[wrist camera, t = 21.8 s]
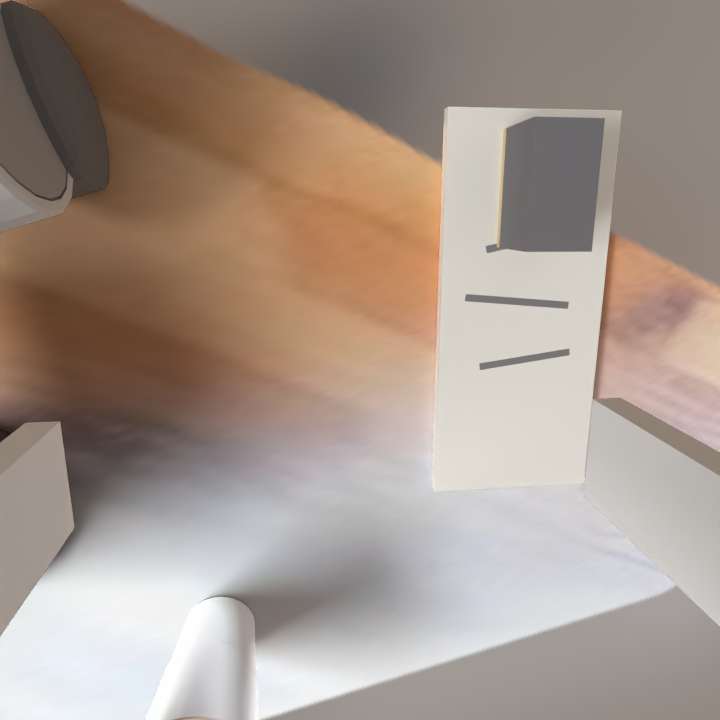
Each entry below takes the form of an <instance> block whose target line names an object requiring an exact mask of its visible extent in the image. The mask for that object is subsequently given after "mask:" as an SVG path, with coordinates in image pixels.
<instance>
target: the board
mask: <svg viewBox="0 0 720 720" xmlns="http://www.w3.org/2000/svg"><path fill="white" fill-rule="evenodd" d="M532 117H579V118H605V122H604V132H603V143H602V153H601V163H600V173H599V183H598V193H597V203H596V214H595V224H594V234H593V244H592V252H523V251H517V250H510V249H504V248H498V247H497V233H498V216H499V200H500V183H501V166H502V149H503V132H504V129H505V128H508V127H510V126H513V125H515V124H517V123H520V122H522V121H525V120H527V119H530V118H532ZM621 118H622V110H585V109H581V110H580V109H535V108H490V107H489V108H488V107H487V108H486V107H447V108H445V109H444V131H443V159H442V189H441V218H440V248H439V278H438V307H437V337H436V367H435V396H434V426H433V456H432V485H431V486H432V488H433V490H434V491H435V492H437V491H456V490H476V489H495V488H515V487H534V486H553V485H573V484H584V476H585V466H586V456H587V447H588V437H589V427H590V418H591V408H592V398H593V389H594V379H595V369H596V360H597V350H598V340H599V331H600V321H601V311H602V302H603V292H604V282H605V273H606V263H607V253H608V244H609V234H610V223H611V214H612V205H613V195H614V185H615V176H616V166H617V156H618V147H619V137H620V127H621Z"/></svg>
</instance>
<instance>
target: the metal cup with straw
mask: <svg viewBox="0 0 720 720" xmlns="http://www.w3.org/2000/svg"><path fill="white" fill-rule="evenodd" d="M145 720H259V700H258V678H257V671H256V651H255V620H254V617H253V614H252V612H251V611H250V609H249V608H248V607H247V606H246V605H245V604H243V603H242V602H240V601H238V600H236V599H234V598H230V597H212V598H209V599H206V600H204V601H202V602H200V603H198V604H197V605H196V606H195V607H194V608H193V609H192V610H191V611H190V612H189V614H188V616H187V618H186V621H185V624H184V627H183V629H182V632H181V634H180V637H179V639H178V642H177V644H176V647H175V649H174V652H173V654H172V657H171V659H170V662H169V663H168V665H167V667H166V669H165V671H164V674H163V676H162V679H161V681H160V683H159V686H158V688H157V691H156V693H155V695H154V698H153V700H152V703H151V705H150V708H149V710H148V712H147V715H146V717H145Z"/></svg>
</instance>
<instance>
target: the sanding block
mask: <svg viewBox="0 0 720 720" xmlns="http://www.w3.org/2000/svg"><path fill="white" fill-rule="evenodd" d="M604 122H605V118H579V117H532V118H530V119H527V120H525V121H522V122H520V123H517V124H515V125H513V126H510V127H508V128H505V129H504V132H503V149H502V166H501V183H500V200H499V216H498V233H497V247H498V248H504V249H510V250H517V251H523V252H592V244H593V234H594V224H595V214H596V203H597V193H598V183H599V173H600V163H601V153H602V143H603V132H604Z"/></svg>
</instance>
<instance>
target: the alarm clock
mask: <svg viewBox="0 0 720 720" xmlns="http://www.w3.org/2000/svg"><path fill="white" fill-rule="evenodd" d="M108 181H109V156H108V149H107V142H106V135H105V129H104V125H103V122H102V118H101V115H100V112H99V108H98V105H97V102H96V98H95V95H94V93H93V91H92V89H91V87H90V85H89V83H88V81H87V79H86V77H85V74H84V72H83V70H82V68H81V66H80V64H79V62H78V61H77V59H76V58H75V56H74V55H73V53H72V52H71V50H70V49H69V47H68V46H67V44H66V43H65V41H64V40H63V38H62V37H61V35H60V33H59V32H58V31H57V30H56V29H55V28H54V27H53V26H52V25H51V24H50V22H49V21H48V20H47V19H46V18H45V17H44V16H43V15H42V14H41V13H39V12H37V11H35V10H33V9H31V8H29V7H27V6H25V5H23V4H20V3H17V2H14V1H8V2H5V3H1V4H0V233H1V232H4V231H7V230H11V229H14V228H17V227H20V226H24V225H27V224H30V223H34V222H37V221H40V220H43V219H47V218H50V217H53V216H56V215H58V214H61V213H64V212H65V210H66V208H67V206H68V204H69V202H70V200H71V199H72V198H75V197H78V196H81V195H85V194H88V193H91V192H95V191H98V190H101V189H104V188H105V186H106V185H107V184H108Z"/></svg>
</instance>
